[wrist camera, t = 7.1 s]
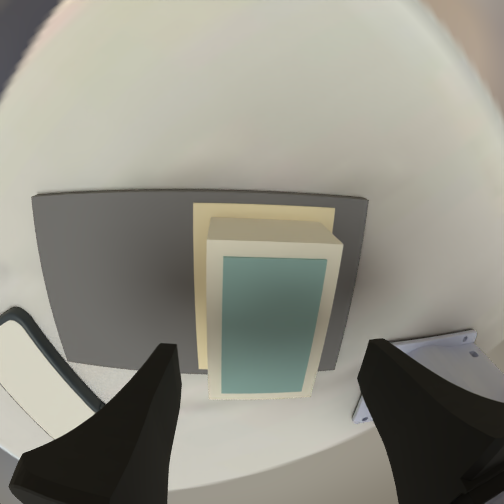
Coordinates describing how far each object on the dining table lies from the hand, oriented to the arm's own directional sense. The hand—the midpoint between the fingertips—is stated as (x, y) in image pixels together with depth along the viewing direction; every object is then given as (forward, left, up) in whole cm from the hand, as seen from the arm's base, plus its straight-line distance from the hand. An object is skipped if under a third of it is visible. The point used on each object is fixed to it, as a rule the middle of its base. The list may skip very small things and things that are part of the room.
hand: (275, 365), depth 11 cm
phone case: (+15, +10, -6) cm, 20 cm away
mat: (+4, 0, -6) cm, 7 cm away
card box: (0, 0, -5) cm, 5 cm away
